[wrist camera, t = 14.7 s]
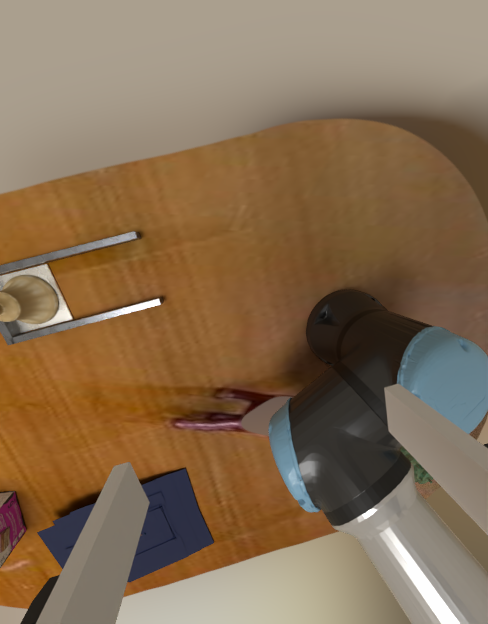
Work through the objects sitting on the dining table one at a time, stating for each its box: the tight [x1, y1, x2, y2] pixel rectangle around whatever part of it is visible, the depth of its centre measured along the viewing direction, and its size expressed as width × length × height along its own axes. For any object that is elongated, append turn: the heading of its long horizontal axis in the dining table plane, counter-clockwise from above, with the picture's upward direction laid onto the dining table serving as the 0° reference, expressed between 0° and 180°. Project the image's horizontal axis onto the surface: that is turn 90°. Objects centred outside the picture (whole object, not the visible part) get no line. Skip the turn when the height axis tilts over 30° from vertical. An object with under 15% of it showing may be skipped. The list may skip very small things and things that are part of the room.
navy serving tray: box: [37, 469, 214, 582], centre depth 51 cm, size 24×30×4 cm
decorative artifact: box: [400, 446, 433, 484], centre depth 52 cm, size 10×7×10 cm
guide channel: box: [0, 231, 163, 345], centre depth 38 cm, size 12×26×2 cm, turn 104°
